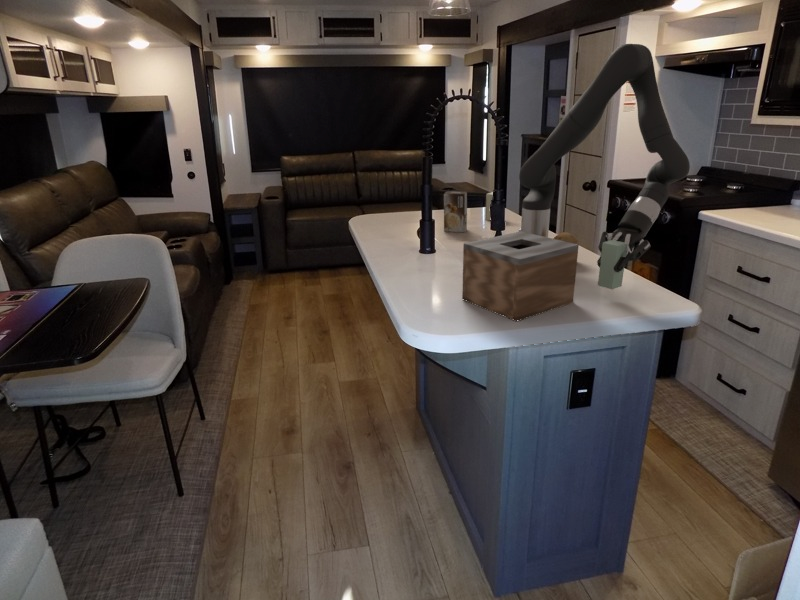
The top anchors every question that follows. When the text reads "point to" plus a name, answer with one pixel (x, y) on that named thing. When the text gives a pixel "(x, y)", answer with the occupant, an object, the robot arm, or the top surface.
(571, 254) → the box
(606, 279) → the sage peg
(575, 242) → the natural sponge
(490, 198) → the skincare box
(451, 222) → the coffee box
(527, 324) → the top surface
